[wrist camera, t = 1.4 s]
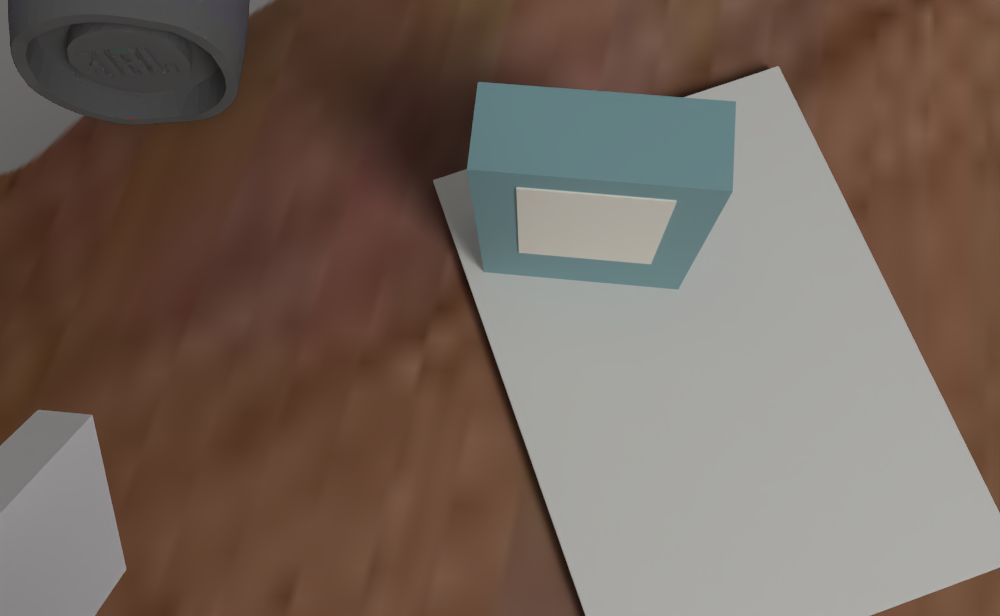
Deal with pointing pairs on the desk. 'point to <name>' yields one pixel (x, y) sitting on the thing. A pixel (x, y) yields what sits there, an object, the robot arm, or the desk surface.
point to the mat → (739, 407)
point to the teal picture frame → (597, 182)
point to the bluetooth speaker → (132, 56)
